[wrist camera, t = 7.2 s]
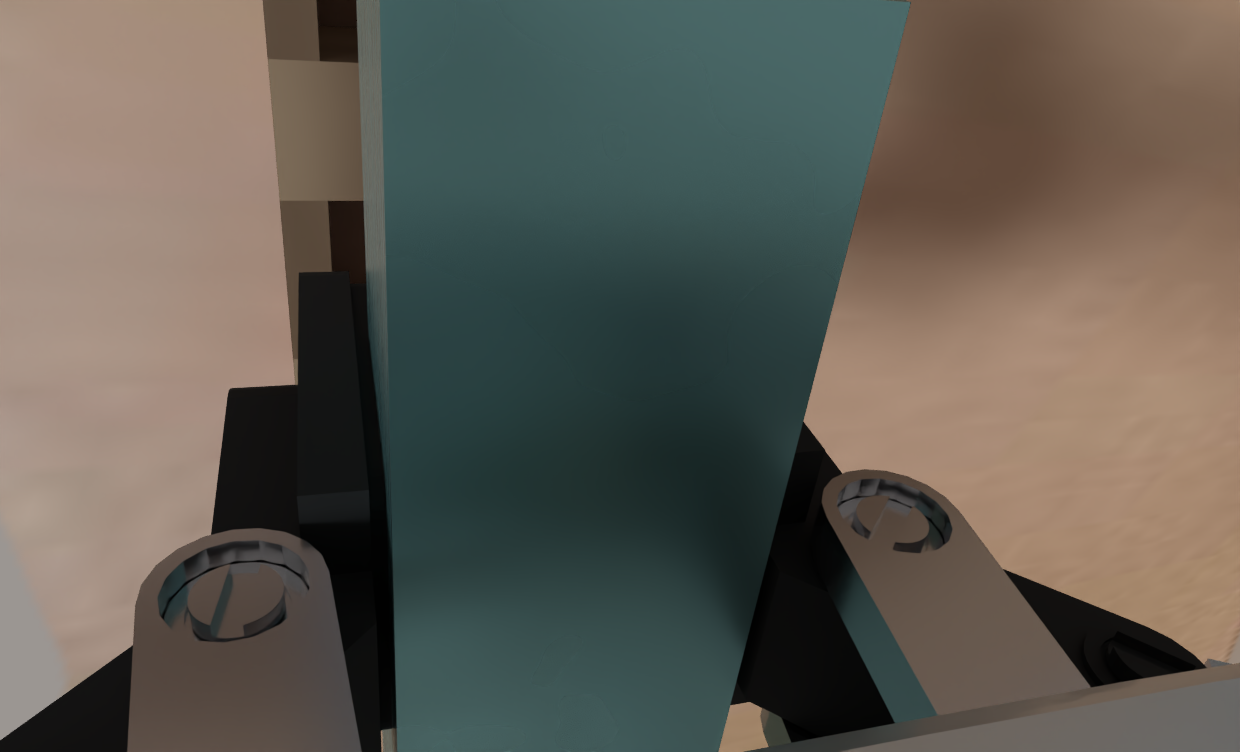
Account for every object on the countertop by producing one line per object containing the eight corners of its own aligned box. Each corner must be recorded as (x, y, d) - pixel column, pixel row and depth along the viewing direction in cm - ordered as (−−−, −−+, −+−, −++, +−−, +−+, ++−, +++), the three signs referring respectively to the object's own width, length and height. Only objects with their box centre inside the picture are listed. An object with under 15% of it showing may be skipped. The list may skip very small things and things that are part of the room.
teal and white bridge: (580, -125, 12) (910, 2, 5) (531, 511, 17) (667, 952, 11) (334, -151, 11) (380, -35, 5) (364, 528, 16) (402, 1018, 10)
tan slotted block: (544, -278, 20) (583, -289, 17) (510, 363, 28) (533, 428, 25) (245, -323, 18) (233, -344, 15) (301, 373, 26) (300, 444, 24)
